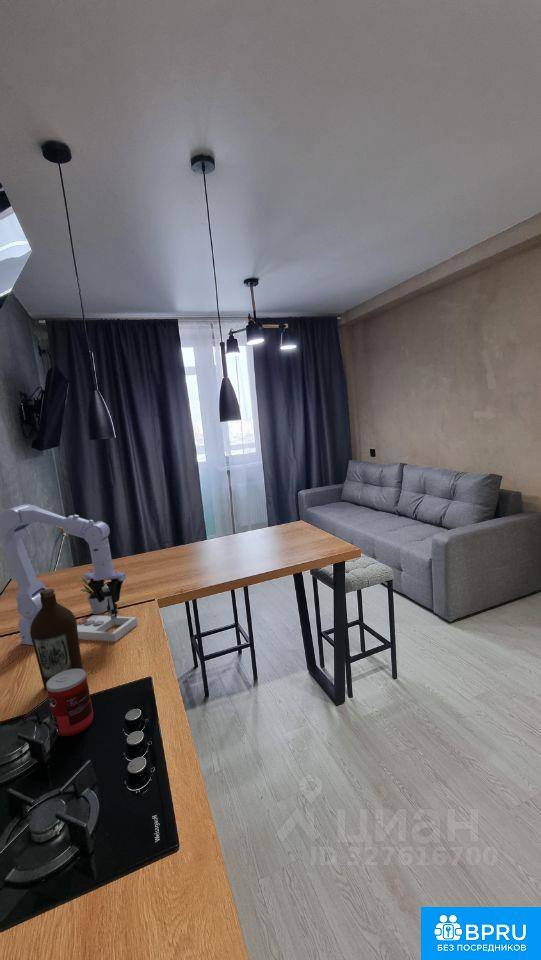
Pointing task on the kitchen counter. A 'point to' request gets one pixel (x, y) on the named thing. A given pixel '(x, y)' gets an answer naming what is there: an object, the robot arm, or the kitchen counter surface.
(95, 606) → the house plant
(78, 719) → the canned food
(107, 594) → the push button
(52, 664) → the olive oil
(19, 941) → the kitchen counter surface
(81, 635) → the control panel
